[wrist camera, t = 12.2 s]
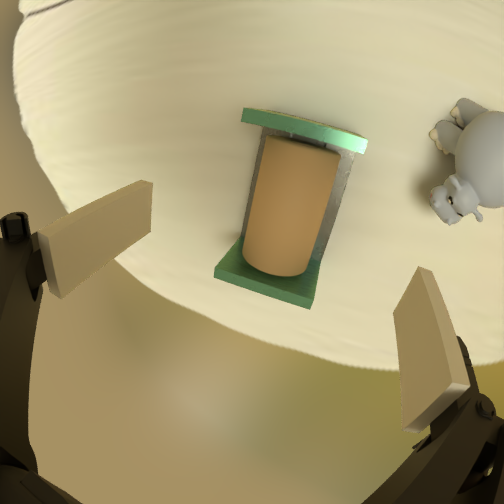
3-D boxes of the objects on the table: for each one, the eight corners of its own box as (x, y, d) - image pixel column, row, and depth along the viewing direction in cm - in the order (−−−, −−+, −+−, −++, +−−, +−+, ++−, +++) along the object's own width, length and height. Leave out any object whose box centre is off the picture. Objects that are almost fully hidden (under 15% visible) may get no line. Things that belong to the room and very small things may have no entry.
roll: (273, 132, 29) (259, 137, 23) (339, 149, 28) (344, 159, 22) (250, 235, 35) (233, 264, 28) (308, 252, 34) (304, 284, 28)
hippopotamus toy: (394, 166, 28) (415, 185, 20) (474, 82, 20) (516, 74, 12) (450, 234, 29) (479, 273, 21) (524, 155, 21) (569, 172, 13)
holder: (269, 110, 29) (243, 107, 21) (359, 134, 28) (367, 139, 20) (241, 241, 37) (213, 277, 29) (318, 266, 36) (309, 309, 28)
